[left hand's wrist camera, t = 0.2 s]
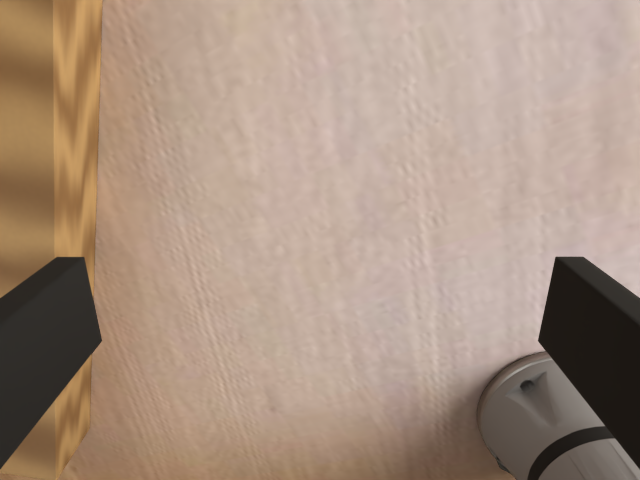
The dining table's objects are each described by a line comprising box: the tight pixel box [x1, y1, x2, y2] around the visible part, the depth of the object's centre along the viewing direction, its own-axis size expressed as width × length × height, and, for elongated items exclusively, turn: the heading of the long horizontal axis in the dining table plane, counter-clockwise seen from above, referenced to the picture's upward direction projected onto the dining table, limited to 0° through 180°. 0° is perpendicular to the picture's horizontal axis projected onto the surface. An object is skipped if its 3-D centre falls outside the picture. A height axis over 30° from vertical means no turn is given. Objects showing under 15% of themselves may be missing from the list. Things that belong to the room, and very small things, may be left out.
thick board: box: [0, 0, 102, 480], centre depth 36 cm, size 58×10×7 cm, turn 168°
